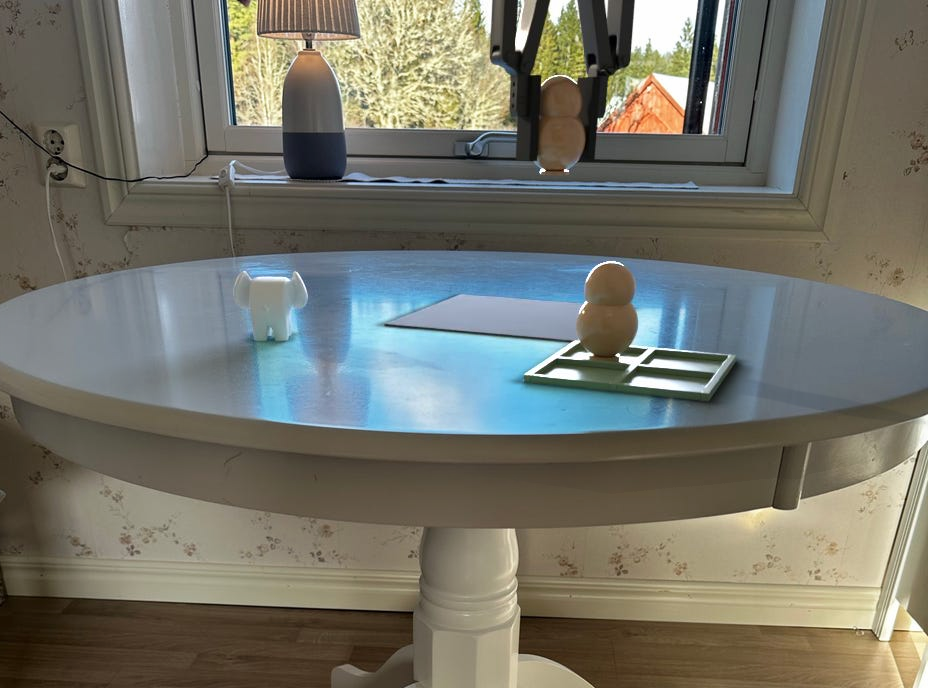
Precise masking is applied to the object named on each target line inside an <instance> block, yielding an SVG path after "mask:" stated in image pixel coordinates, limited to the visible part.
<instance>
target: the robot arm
mask: <svg viewBox="0 0 928 688" xmlns="http://www.w3.org/2000/svg"><path fill="white" fill-rule="evenodd" d="M576 2H577V9H578V17H579V26H580V34H581V42H582V49H583V56H584V57H583V58H584V64H585V72H586V75H587V76H582V77H580V76H579V77H577V82H576V83H577V85H578V86H579V88H580V90H581V93H582V98H583V105H582V110H581V113H580V115H579V118H580V119H581V121H582V123H583V125H584V128H585V133H586V143H585V148H584V151H583V153H582V155H581V157H580V159H579V160H578V161H583V162H584V161H585V162H595V159H596V158H595V157H596V146H597V132H598V121H599V119H604V117H605V114H606V112H607V98H608V87H609V78H610V77H612V76H614V75H615V74H616V72H617V71H619V70H621V69H626V68H628V67H629V65H630V64H631V60H632V59H631V58H632V43H633V31H634V29H633V28H634V18H635V17H634V16H635V7H636V6H635V3H636V0H607V8H606V1H605V0H576ZM550 3H551V0H523V3H522V8H521V11H520V16H519V20H518V13H519V12H518V10H519V0H491V18H490V19H491V20H490V22H491V23H490V41H489V42H490V43H489V44H490V45H489V61H490V63H491V64H493V65H494V66H498V67H501V69H504V70H505V73H506V74H507V75H508V76H509V79H510V80H509V81H510V82H509V107H508V108H509V109H508V110H509V114H510V118H517V120H516V145H515V161H523V162H534V161H537V154H538V134H539V115H540V95H541V85H542V74H532V72H533V71H534V70H533V69H534V68H535V64H536V60H537V57H538V53H539V48H540V42H541V40H542V35H543V31H544V28H545V25H546V20H547V17H548V12H549V9H550ZM606 9H607V10H606Z"/></svg>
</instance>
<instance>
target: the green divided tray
mask: <svg viewBox="0 0 928 688" xmlns="http://www.w3.org/2000/svg"><path fill="white" fill-rule="evenodd" d="M589 354H590V353H589V352H588V351H587V350H586V349H585V348H584V347H583V346H582V345H581V344H580V342H579V341H574V342H570V343H569V344H568V345H566V346H565V347H563V348H561V349H560V350H558V351H557V352H555V353H554V354H553V355H551V356H549V357H547V359H545V360H544V361H542V362H541V363H539V364H537V365H536V366H535V367H533V368H532V369H530V370H528V371H527V372H526V373H524V374H523V380H522V381H523V382H524V383H531V384H532V383H533V384H540V385H551V386H561V387H568V388H578V389H589V390H596V391H597V390H598V391H608V392H618V393H624V394H625V393H627V394H635V395H636V394H637V395H645V396H654V397H664V398H673V399H683V400H693V401H702V402H709V401H710V400H711V398H712V397H713V395H714V394H715V393H716V391H717V389H718V388H719V387H720V385H721V384H722V383H723V381H724V379H725V378H727V377H726V376H728V374H729V372H730V371H731V370H732V368H733V367H734V365H735V364H736V362H737V357H738V355H737V354H729V353H718V352H706V351H695V350H686V349H685V350H684V349H673V348H663V347H650V346H639V345H630V346H629V347H628V348H627V349H626V350H625V351H623V352H622V353H620V354H619V355H620V358H619V360H617V361H602V360H591V359H589Z"/></svg>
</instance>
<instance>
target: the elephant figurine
mask: <svg viewBox="0 0 928 688" xmlns="http://www.w3.org/2000/svg"><path fill="white" fill-rule="evenodd" d="M308 297H309V296H308V290H307V288H306V285H305V283H304V281H303V279H302V278H301V276H300V274H299V273H298V272H297V271H296V270H295V271H293V272H292V278H291V279H289V278H288V277H285V276H257V277H253V279H252V278H251V277H250V275H249V274H248V272H247V271H245V270H243V271H241V273H239V274H238V276H237V277H236V280H235V282H234V284H233V290H232V299H233V302H234V304H235V305H236V306H237V307H238V308H241V309H245V310H246V309H247V310H248V309H249V316H250V324H251V330H252V335H253V339H254V341H255V342H266V341H268V340H269V337H271V336H272V334H273V338H274V341H276V342H286V341H288V340H289V337H291V336H292V308H294V309H297V310H302V309H303V308H304V307H305V306H306V305H307V303H308V299H309V298H308Z"/></svg>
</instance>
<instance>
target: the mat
mask: <svg viewBox="0 0 928 688" xmlns="http://www.w3.org/2000/svg"><path fill="white" fill-rule="evenodd" d="M584 303H585V302H571V301H557V300H546V299H545V300H544V299H530V298H517V297H503V296H491V295H478V294H464V293H460V294H457V295H455V296H453V297H450V298H447V299H445V300H441V301H440V302H437V303H435V304H432V305H430V306H426V307H424V308H422V309H419V310H416V311H414V312H412V313H409V314H406V315H403V316H402V317H398V318H396V319H394V320H390V321H388V322H385V323H383V324H384V327H395V328H404V329H405V328H407V329H419V330H431V331H442V332H455V333H464V334H474V335H475V334H477V335H487V336H497V337H498V336H499V337H511V338H522V339H532V340H544V341H555V342H565V343H566V342H568V343H572V342H574V341H579V340H578V337H577V334H576V319H577V315H578V313H579V310H580V309H581V307H582V306H583V304H584Z"/></svg>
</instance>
